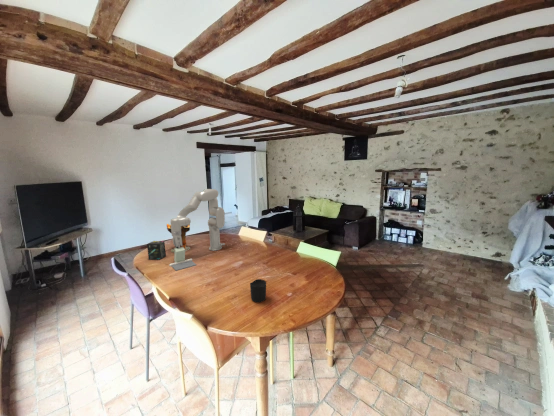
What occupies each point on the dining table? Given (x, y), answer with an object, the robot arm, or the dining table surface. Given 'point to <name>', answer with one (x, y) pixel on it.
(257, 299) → the pen holder
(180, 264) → the mat
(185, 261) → the rail
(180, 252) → the sage block
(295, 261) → the dining table surface
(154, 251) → the tampon box
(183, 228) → the decorative vase
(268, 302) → the dining table surface
